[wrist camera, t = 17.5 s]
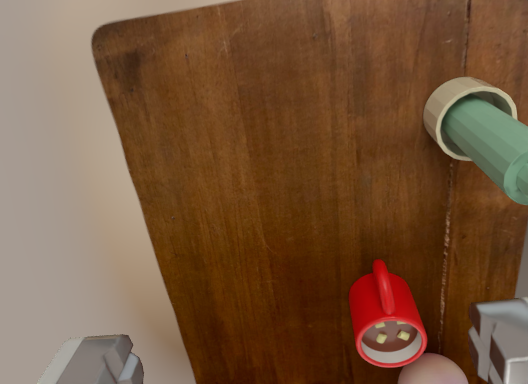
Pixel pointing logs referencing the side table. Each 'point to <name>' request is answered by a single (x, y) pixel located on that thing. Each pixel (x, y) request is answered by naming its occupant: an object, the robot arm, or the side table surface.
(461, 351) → the side table surface
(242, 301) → the side table surface
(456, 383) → the decorative fruit
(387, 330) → the mug
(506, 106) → the holder
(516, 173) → the bottle
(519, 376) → the robot arm
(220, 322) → the side table surface
